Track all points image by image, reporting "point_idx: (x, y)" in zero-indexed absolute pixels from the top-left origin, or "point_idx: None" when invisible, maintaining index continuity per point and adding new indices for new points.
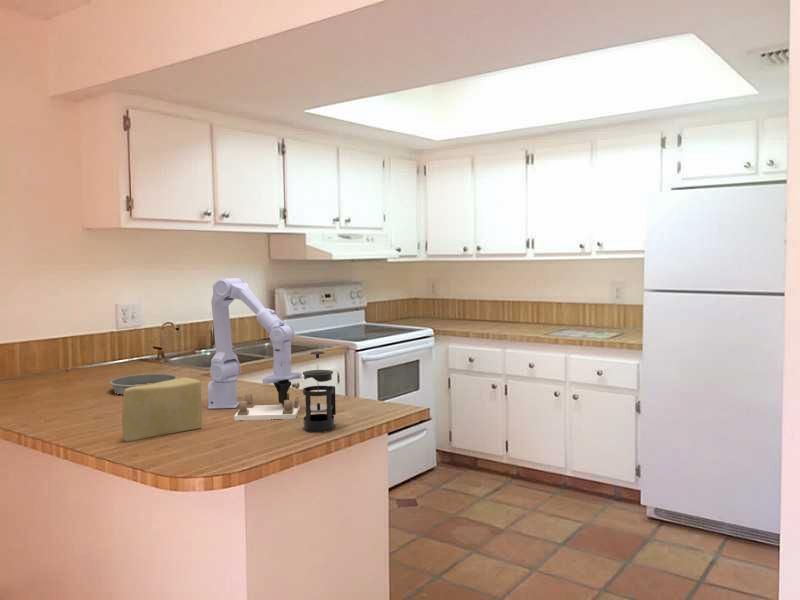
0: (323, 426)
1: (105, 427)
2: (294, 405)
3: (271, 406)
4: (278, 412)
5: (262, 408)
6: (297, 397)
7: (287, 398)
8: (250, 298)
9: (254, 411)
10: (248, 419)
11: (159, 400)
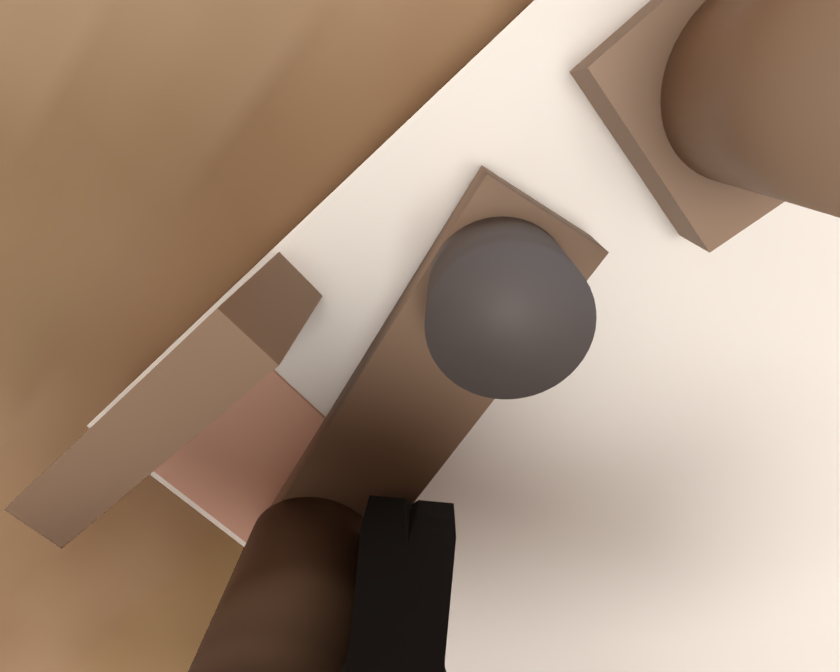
0: None
1: None
2: (204, 429)
3: (466, 627)
4: (748, 299)
5: (622, 641)
6: (42, 520)
7: (294, 578)
8: None
9: (825, 616)
10: None
11: None
